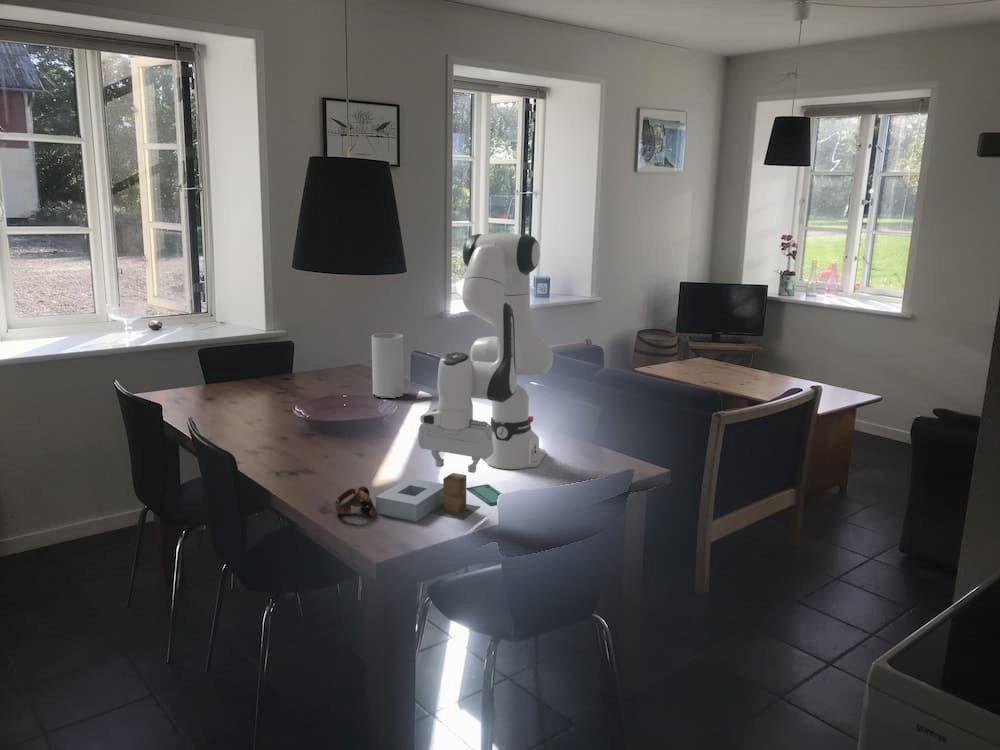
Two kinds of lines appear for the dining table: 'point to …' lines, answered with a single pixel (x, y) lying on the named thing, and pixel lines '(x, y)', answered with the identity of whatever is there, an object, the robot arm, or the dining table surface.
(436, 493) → the pocket holder
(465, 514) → the rubber mat
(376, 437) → the dining table surface
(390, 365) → the cylinder vase
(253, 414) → the dining table surface
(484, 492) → the smartphone
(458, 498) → the walnut block
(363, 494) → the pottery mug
